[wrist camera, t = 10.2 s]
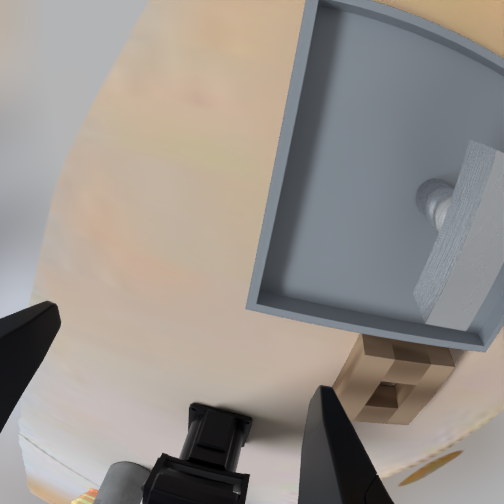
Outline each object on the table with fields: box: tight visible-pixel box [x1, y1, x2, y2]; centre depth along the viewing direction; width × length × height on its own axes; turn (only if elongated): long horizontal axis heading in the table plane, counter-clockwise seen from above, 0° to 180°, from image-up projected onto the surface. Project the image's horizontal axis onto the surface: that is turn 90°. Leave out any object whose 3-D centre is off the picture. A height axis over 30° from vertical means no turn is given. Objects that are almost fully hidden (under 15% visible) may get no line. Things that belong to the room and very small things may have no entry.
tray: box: [246, 0, 504, 352], centre depth 16 cm, size 19×19×2 cm
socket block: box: [332, 333, 455, 425], centre depth 23 cm, size 8×8×2 cm
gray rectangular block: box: [413, 139, 504, 331], centre depth 14 cm, size 8×2×7 cm, turn 170°
